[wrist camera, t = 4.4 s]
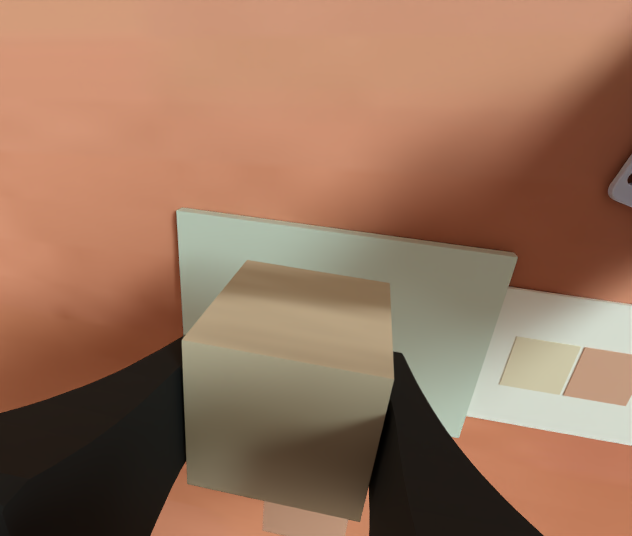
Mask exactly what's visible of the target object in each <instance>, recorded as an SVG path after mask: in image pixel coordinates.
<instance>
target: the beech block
mask: <svg viewBox="0 0 632 536" xmlns="http://www.w3.org/2000/svg"><path fill="white" fill-rule="evenodd" d="M182 363H183V388H184V412H185V437H186V462H187V484H190V485H194V486H199V487H203V488H208V489H212V490H217V491H221V492H226V493H231V494H235V495H240V496H244V497H249V498H253V499H258V500H262V501H267V502H271V503H276V504H280V505H285V506H289V507H294V508H299V509H303V510H308V511H312V512H317V513H321V514H326V515H330V516H335V517H339V518H344V519H348V520H353V521H357V522H360V520H361V516H362V511H363V507H364V503H365V499H366V495H367V491H368V486H369V482H370V478H371V474H372V470H373V466H374V461H375V457H376V453H377V449H378V445H379V441H380V436H381V432H382V428H383V424H384V420H385V415H386V411H387V407H388V403H389V399H390V395H391V390H392V386H393V382H394V364H393V342H392V320H391V298H390V283H386V282H380V281H374V280H368V279H362V278H356V277H349V276H343V275H337V274H331V273H325V272H319V271H313V270H306V269H300V268H294V267H288V266H282V265H276V264H269V263H263V262H257V261H251V260H247V261H246V262H245V263H244V264H243V265H242V267H241V268H240V269H239V270H238V272H237V273H236V274H235V275H234V276H233V278H232V279H231V280H230V281H229V283H228V284H227V285H226V286H225V287H224V289H223V290H222V291H221V292H220V294H219V295H218V296H217V297H216V298H215V300H214V301H213V302H212V303H211V305H210V306H209V307H208V308H207V309H206V311H205V312H204V313H203V314H202V316H201V317H200V318H199V319H198V320H197V322H196V323H195V324H194V325H193V327H192V328H191V329H190V330H189V331H188V333H187V334H186V335H185V336H184V338H183V339H182Z"/></svg>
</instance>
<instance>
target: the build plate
mask: <svg viewBox="0 0 632 536" xmlns="http://www.w3.org/2000/svg"><path fill="white" fill-rule="evenodd" d="M176 214H177V231H178V248H179V266H180V283H181V300H182V318H183V335H186V334H187V333H188V331H189V330H190V329H191V328H192V327H193V325H194V324H195V323H196V322H197V320H198V319H199V318H200V317H201V316H202V314H203V313H204V312H205V311H206V309H207V308H208V307H209V306H210V305H211V303H212V302H213V301H214V300H215V298H216V297H217V296H218V295H219V294H220V292H221V291H222V290H223V289H224V287H225V286H226V285H227V284H228V283H229V281H230V280H231V279H232V278H233V276H234V275H235V274H236V273H237V272H238V270H239V269H240V268H241V267H242V265H243V264H244V263H245V262H246V261H247V260H251V261H257V262H263V263H269V264H276V265H282V266H288V267H294V268H300V269H306V270H313V271H319V272H325V273H331V274H337V275H343V276H349V277H356V278H362V279H368V280H374V281H380V282H386V283H390V298H391V320H392V342H393V351H394V352H399V353H402V354H403V355H404V357H405V359H406V361H407V363H408V365H409V367H410V369H411V371H412V373H413V375H414V377H415V379H416V381H417V383H418V385H419V387H420V389H421V390H422V392H423V394H424V395H425V397H426V399H427V401H428V402H429V404H430V406H431V407H432V409H433V411H434V412H435V414H436V415H437V417H438V418H439V420H440V421H441V423H442V424H443V426H444V427H445V429H446V430H447V432H448V433H449V434H450V436H451V437H456V438H459V436H460V433H461V430H462V427H463V423H464V420H465V417H466V414H467V411H468V408H469V405H470V402H471V399H472V396H473V393H474V390H475V387H476V384H477V381H478V378H479V375H480V372H481V369H482V366H483V363H484V360H485V357H486V354H487V350H488V347H489V344H490V341H491V338H492V335H493V332H494V329H495V326H496V323H497V320H498V317H499V314H500V311H501V308H502V305H503V302H504V299H505V296H506V293H507V290H508V287H509V284H510V281H511V277H512V274H513V271H514V268H515V265H516V262H517V259H518V257H517V256H516V254H515V253H514V252H506V251H499V250H492V249H484V248H477V247H469V246H462V245H455V244H447V243H440V242H433V241H425V240H418V239H411V238H403V237H396V236H389V235H381V234H374V233H366V232H359V231H352V230H344V229H337V228H330V227H322V226H315V225H308V224H300V223H293V222H286V221H278V220H271V219H263V218H256V217H249V216H241V215H234V214H227V213H219V212H212V211H205V210H197V209H190V208H183V207H182V208H180V209H178V210H177V211H176Z"/></svg>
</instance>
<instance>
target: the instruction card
mask: <svg viewBox="0 0 632 536" xmlns="http://www.w3.org/2000/svg"><path fill="white" fill-rule="evenodd" d="M466 416H469V417H475V418H480V419H486V420H491V421H497V422H503V423H508V424H514V425H519V426H525V427H530V428H536V429H542V430H547V431H553V432H558V433H564V434H570V435H575V436H581V437H586V438H592V439H597V440H603V441H609V442H614V443H620V444H625V445H631V446H632V304H626V303H619V302H612V301H606V300H599V299H592V298H585V297H578V296H571V295H564V294H557V293H550V292H543V291H536V290H530V289H523V288H516V287H508V290H507V293H506V296H505V299H504V302H503V305H502V308H501V311H500V314H499V317H498V320H497V323H496V326H495V329H494V332H493V335H492V338H491V341H490V344H489V347H488V350H487V354H486V357H485V360H484V363H483V366H482V369H481V372H480V375H479V378H478V381H477V384H476V387H475V390H474V393H473V396H472V399H471V402H470V405H469V408H468V411H467V414H466Z"/></svg>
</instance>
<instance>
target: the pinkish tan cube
mask: <svg viewBox="0 0 632 536" xmlns="http://www.w3.org/2000/svg"><path fill="white" fill-rule="evenodd" d="M347 522H348V519H344V518H339V517H335V516H330V515H326V514H321V513H317V512H312V511H308V510H303V509H299V508H294V507H289V506H285V505H280V504H276V503H271V502H267V501H264V511H263V530H262V531H266V532H271V533H275V534H280V535H285V536H345V533H346V528H347Z"/></svg>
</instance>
